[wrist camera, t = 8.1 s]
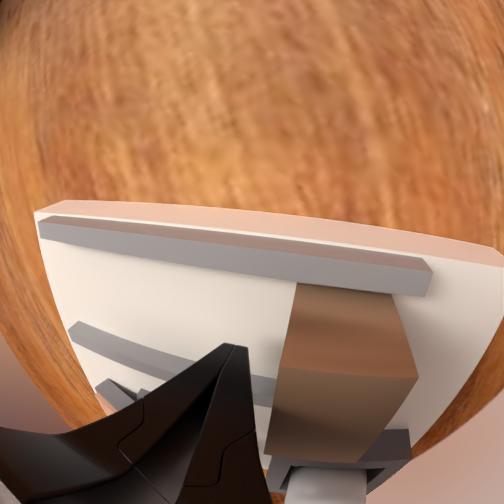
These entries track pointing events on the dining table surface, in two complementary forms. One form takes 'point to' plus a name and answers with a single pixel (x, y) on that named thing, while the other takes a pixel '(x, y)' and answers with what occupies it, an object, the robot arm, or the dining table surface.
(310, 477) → the push button
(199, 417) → the robot arm
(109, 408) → the rocker switch
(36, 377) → the dining table surface
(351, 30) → the dining table surface
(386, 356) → the slider knob
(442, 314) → the panel
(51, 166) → the dining table surface
